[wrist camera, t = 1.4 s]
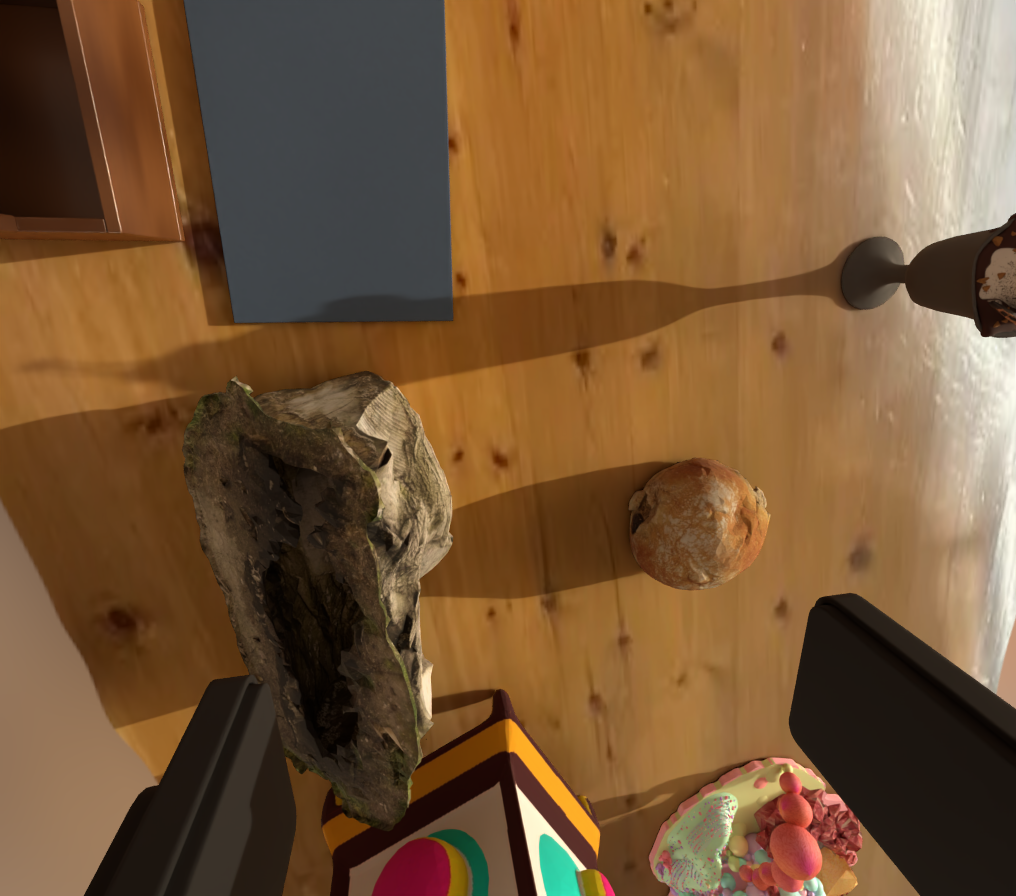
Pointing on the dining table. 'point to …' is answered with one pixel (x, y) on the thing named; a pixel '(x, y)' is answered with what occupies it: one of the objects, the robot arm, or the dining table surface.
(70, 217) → the basket
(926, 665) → the robot arm
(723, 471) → the bread roll
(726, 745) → the dining table surface
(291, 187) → the placemat
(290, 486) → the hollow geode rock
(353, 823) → the decorative lantern
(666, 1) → the dining table surface
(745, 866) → the candy landscape model
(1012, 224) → the sundae
